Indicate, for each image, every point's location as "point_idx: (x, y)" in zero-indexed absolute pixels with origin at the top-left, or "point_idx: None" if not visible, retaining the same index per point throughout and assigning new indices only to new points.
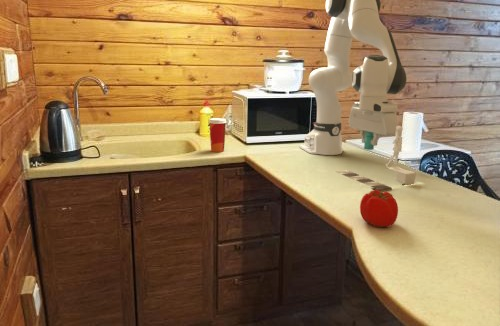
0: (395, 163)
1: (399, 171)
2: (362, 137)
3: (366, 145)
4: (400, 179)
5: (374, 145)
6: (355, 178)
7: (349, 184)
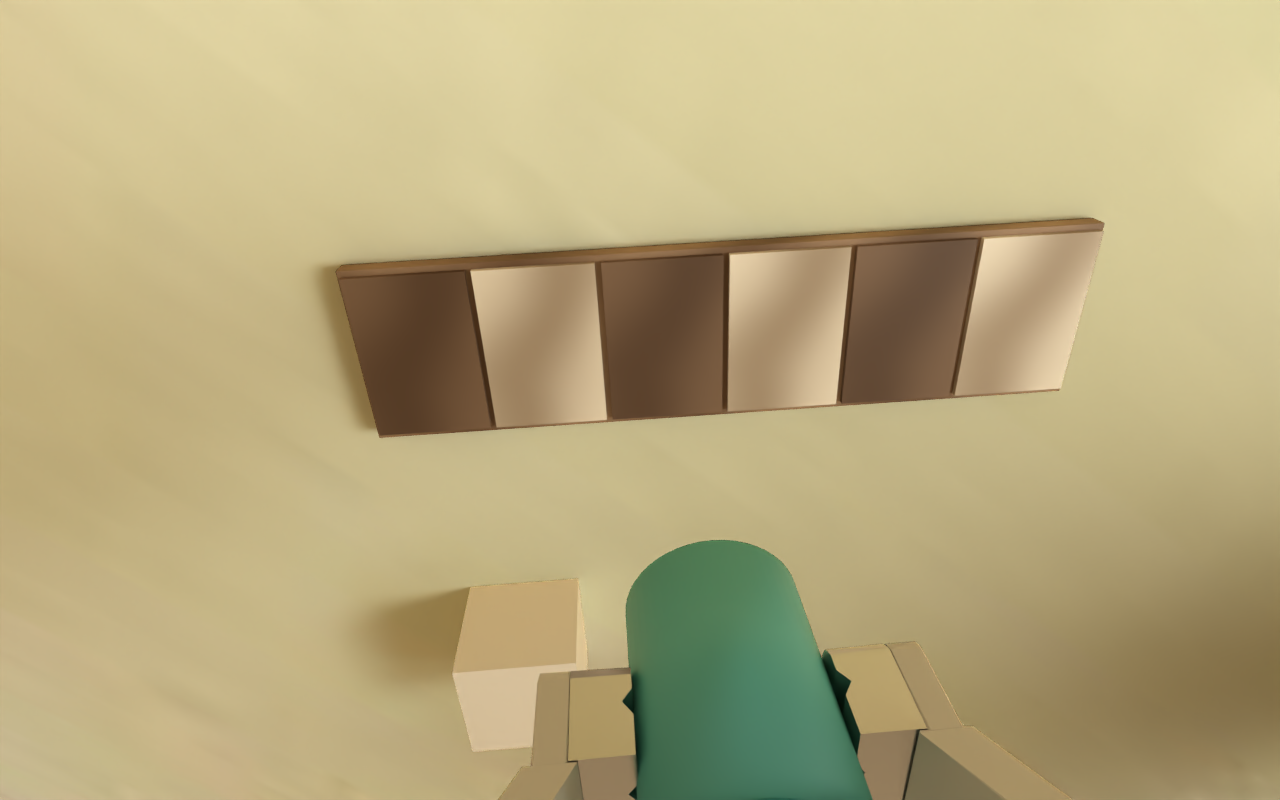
0: None
1: (549, 671)
2: (944, 736)
3: (698, 602)
4: (522, 613)
5: (540, 689)
6: (771, 288)
7: (674, 125)
